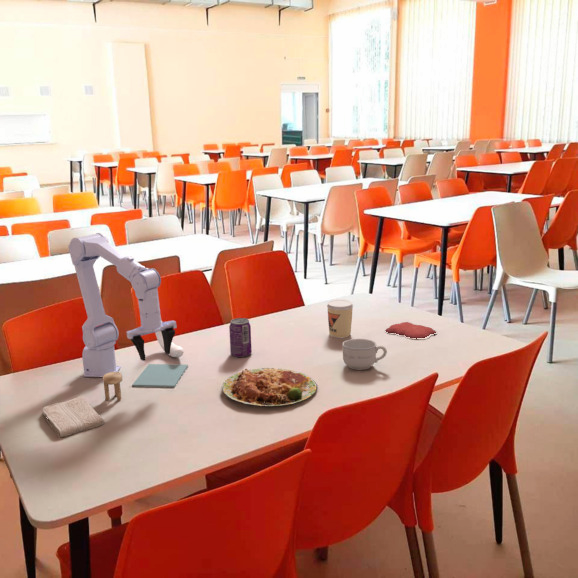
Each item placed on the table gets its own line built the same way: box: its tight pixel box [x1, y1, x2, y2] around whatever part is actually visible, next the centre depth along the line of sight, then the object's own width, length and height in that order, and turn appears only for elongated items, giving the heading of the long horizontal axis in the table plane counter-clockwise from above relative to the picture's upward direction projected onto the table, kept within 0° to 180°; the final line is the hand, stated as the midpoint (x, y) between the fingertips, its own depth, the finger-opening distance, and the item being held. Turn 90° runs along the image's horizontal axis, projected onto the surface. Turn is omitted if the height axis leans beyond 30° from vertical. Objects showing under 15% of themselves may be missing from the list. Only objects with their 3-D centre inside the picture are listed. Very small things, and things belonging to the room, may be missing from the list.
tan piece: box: [102, 371, 123, 401], centre depth 177 cm, size 5×5×7 cm
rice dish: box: [221, 367, 318, 407], centre depth 181 cm, size 28×28×5 cm
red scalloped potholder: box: [384, 321, 437, 339], centre depth 227 cm, size 18×14×2 cm
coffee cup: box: [326, 299, 354, 339], centre depth 224 cm, size 9×9×12 cm
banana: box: [154, 319, 185, 358], centre depth 207 cm, size 5×19×15 cm, turn 38°
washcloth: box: [41, 396, 105, 438], centre depth 166 cm, size 12×18×3 cm, turn 37°
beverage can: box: [228, 317, 252, 358], centre depth 207 cm, size 7×7×12 cm
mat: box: [132, 363, 189, 388], centre depth 193 cm, size 13×16×1 cm
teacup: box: [341, 338, 388, 371], centre depth 195 cm, size 14×11×8 cm
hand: (155, 356), depth 180 cm, fingers open, 7 cm apart
